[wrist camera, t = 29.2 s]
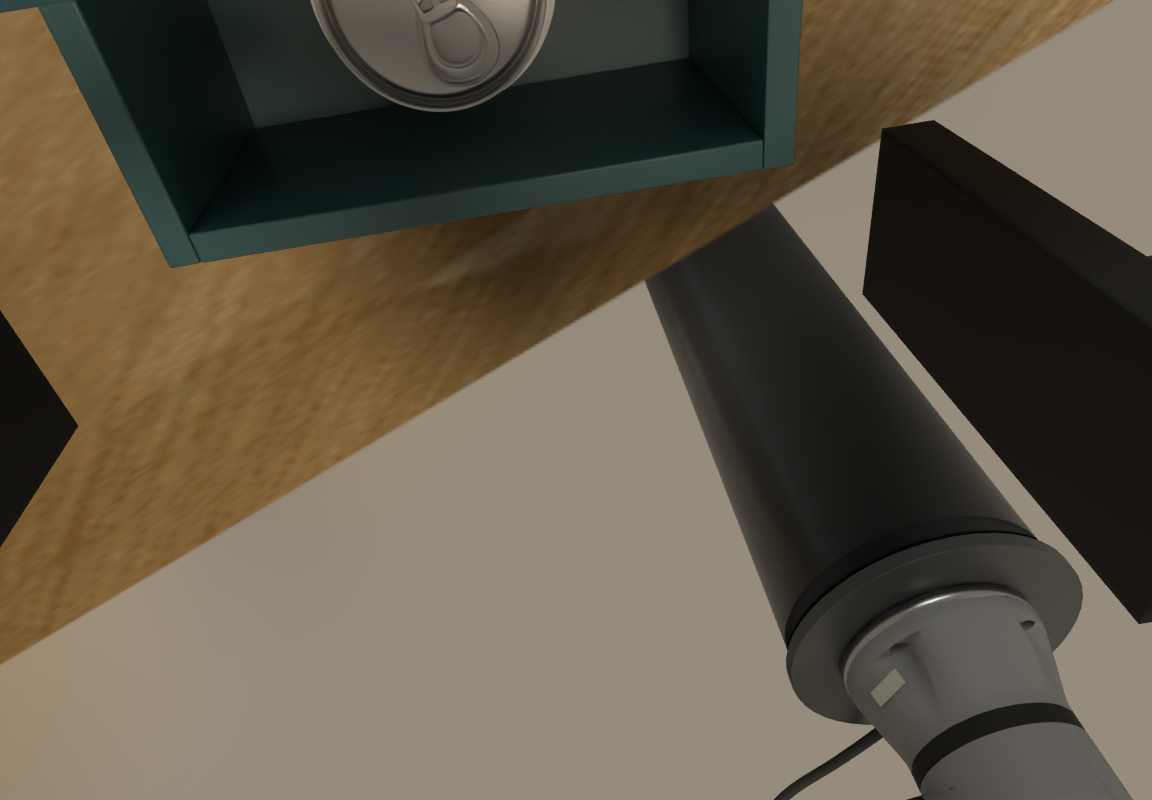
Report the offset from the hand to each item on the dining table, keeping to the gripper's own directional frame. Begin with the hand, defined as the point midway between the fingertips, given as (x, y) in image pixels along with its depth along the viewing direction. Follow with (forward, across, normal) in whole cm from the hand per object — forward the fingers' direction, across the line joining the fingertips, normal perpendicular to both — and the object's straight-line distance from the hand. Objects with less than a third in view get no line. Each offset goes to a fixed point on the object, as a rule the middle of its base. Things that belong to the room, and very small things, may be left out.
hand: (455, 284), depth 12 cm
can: (+23, 0, +2) cm, 23 cm away
